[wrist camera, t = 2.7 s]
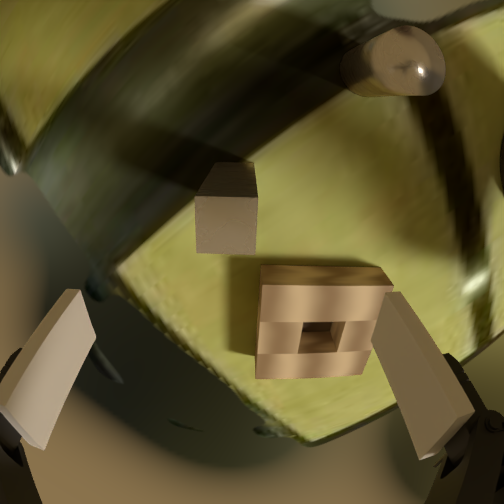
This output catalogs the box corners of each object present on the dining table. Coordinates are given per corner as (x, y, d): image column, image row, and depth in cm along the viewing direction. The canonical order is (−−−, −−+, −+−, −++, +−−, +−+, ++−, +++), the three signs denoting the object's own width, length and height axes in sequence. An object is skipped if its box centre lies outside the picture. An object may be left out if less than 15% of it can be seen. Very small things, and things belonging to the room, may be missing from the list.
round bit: (389, 54, 22) (445, 38, 14) (387, 101, 25) (444, 103, 16) (340, 43, 22) (382, 16, 13) (338, 92, 25) (381, 85, 16)
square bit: (254, 162, 28) (258, 197, 17) (252, 199, 29) (255, 254, 19) (215, 162, 28) (194, 196, 17) (215, 198, 29) (196, 252, 18)
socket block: (380, 267, 33) (393, 285, 29) (354, 353, 39) (361, 374, 36) (260, 264, 33) (262, 284, 29) (254, 356, 39) (255, 378, 35)
